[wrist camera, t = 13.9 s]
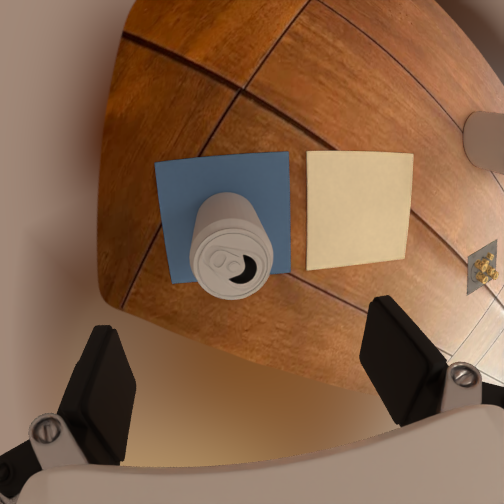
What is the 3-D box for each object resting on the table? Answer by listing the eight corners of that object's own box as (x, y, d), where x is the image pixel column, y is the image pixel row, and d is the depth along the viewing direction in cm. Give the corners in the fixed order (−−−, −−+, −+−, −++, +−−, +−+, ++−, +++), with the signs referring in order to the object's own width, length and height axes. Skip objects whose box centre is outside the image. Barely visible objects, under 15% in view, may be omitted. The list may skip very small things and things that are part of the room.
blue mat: (172, 282, 36) (171, 283, 35) (155, 162, 30) (154, 162, 30) (289, 270, 37) (290, 272, 37) (287, 151, 32) (288, 151, 31)
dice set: (491, 273, 43) (498, 277, 41) (473, 285, 43) (480, 290, 41) (492, 249, 41) (500, 253, 39) (474, 260, 41) (481, 265, 39)
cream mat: (305, 269, 37) (306, 270, 37) (305, 150, 32) (307, 151, 31) (402, 257, 38) (404, 258, 38) (411, 153, 33) (413, 153, 33)
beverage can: (237, 256, 35) (249, 316, 24) (186, 231, 33) (174, 283, 22) (266, 208, 33) (293, 249, 22) (213, 179, 31) (214, 207, 20)
